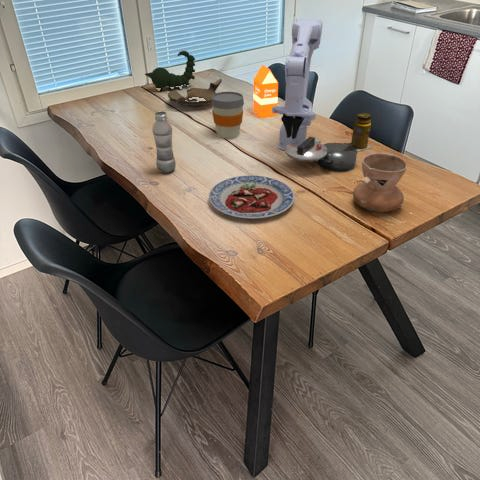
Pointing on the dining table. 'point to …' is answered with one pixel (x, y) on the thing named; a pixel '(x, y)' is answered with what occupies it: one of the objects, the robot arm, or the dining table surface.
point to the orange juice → (265, 93)
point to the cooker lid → (306, 150)
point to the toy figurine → (165, 78)
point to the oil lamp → (195, 95)
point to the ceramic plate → (251, 197)
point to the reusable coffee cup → (227, 113)
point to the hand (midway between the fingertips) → (291, 137)
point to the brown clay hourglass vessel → (380, 182)
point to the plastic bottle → (163, 143)
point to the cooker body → (339, 157)
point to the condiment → (361, 131)
